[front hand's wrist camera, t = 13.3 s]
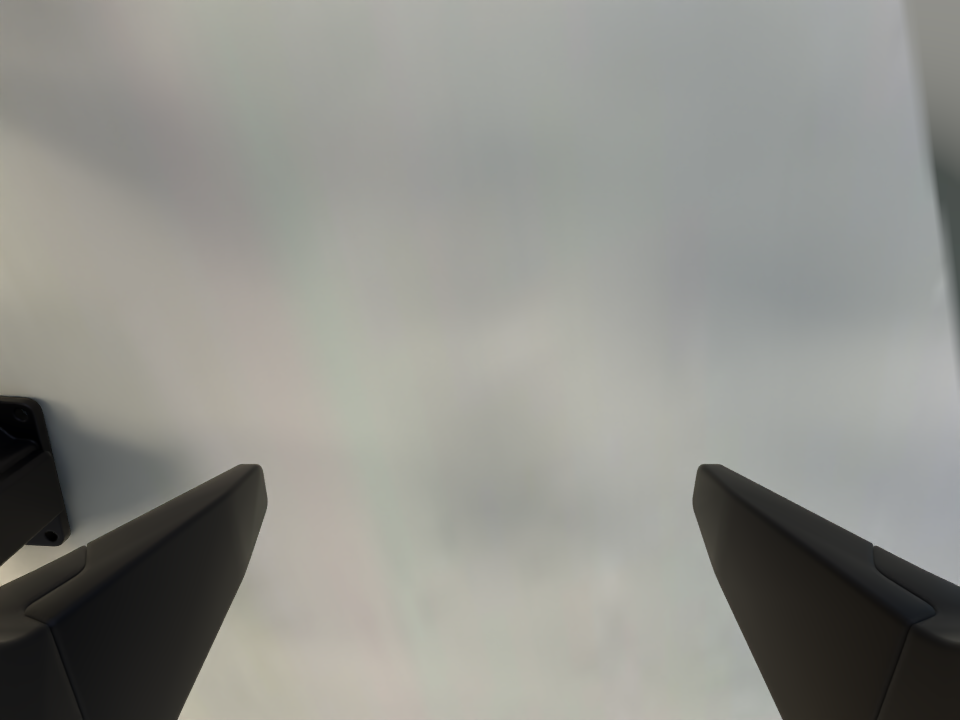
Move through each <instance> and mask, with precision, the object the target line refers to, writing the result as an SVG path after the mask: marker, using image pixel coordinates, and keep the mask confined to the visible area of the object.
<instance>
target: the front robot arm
mask: <svg viewBox="0 0 960 720" xmlns="http://www.w3.org/2000/svg"><path fill="white" fill-rule="evenodd" d="M22 409H23V410H24V411H26V413H27V415H26V414H25V413H23V411H22ZM266 509H267V493H266V487H265V480H264V474H263V470H262V468H261V466H260V465H258V464H240V465H237V466H236V467H234V468H232V469H230V470H228V471H226V472H224V473H222V474H220V475H218V476H216V477H214V478H213V479H211V480H209V481H207V482H205V483H203V484H201V485H199V486H197V487H195V488H193V489H191V490H189V491H188V492H186V493H184V494H182V495H180V496H178V497H176V498H174V499H172V500H170V501H168V502H166V503H165V504H163V505H161V506H159V507H157V508H155V509H153V510H151V511H149V512H147V513H145V514H143V515H141V516H140V517H138V518H136V519H134V520H132V521H130V522H128V523H126V524H124V525H122V526H120V527H118V528H117V529H115V530H113V531H111V532H109V533H107V534H105V535H103V536H101V537H99V538H97V539H95V540H93V541H92V542H90V543H88V544H87V547H86V546H82V547H80V548H78V549H76V550H74V551H72V552H70V553H68V554H66V555H64V556H62V557H61V558H59V559H57V560H55V561H53V562H51V563H49V564H47V565H45V566H43V567H41V568H39V569H37V570H35V571H32V572H30V573H28V574H26V575H24V576H22V577H20V578H18V579H15V580H13V581H11V582H9V583H7V584H5V585H3V586H1V587H0V720H177V719H178V717H179V715H180V713H181V711H182V708H183V706H184V704H185V702H186V700H187V698H188V696H189V693H190V691H191V689H192V687H193V685H194V683H195V681H196V678H197V676H198V674H199V672H200V670H201V668H202V666H203V663H204V661H205V659H206V657H207V655H208V653H209V651H210V648H211V646H212V644H213V642H214V640H215V638H216V636H217V633H218V631H219V629H220V627H221V625H222V623H223V621H224V618H225V616H226V614H227V612H228V610H229V608H230V605H231V603H232V601H233V599H234V597H235V595H236V593H237V590H238V588H239V586H240V584H241V582H242V579H243V577H244V575H245V572H246V570H247V567H248V564H249V561H250V558H251V555H252V552H253V549H254V546H255V543H256V540H257V537H258V534H259V531H260V528H261V525H262V522H263V519H264V516H265V513H266ZM693 509H694V513H695V516H696V519H697V522H698V525H699V528H700V531H701V534H702V537H703V540H704V543H705V546H706V549H707V552H708V555H709V558H710V561H711V564H712V567H713V570H714V572H715V575H716V577H717V579H718V582H719V584H720V586H721V588H722V590H723V593H724V595H725V597H726V599H727V601H728V603H729V605H730V608H731V610H732V612H733V614H734V616H735V618H736V621H737V623H738V625H739V627H740V629H741V631H742V633H743V636H744V638H745V640H746V642H747V644H748V646H749V648H750V651H751V653H752V655H753V657H754V659H755V661H756V663H757V666H758V668H759V670H760V672H761V674H762V676H763V678H764V681H765V683H766V685H767V687H768V689H769V691H770V693H771V696H772V698H773V700H774V702H775V704H776V706H777V708H778V711H779V713H780V715H781V717H782V719H783V720H960V587H959V586H957V585H955V584H953V583H951V582H949V581H947V580H945V579H942V578H940V577H938V576H936V575H934V574H932V573H930V572H928V571H925V570H923V569H921V568H919V567H917V566H915V565H913V564H911V563H909V562H907V561H905V560H903V559H901V558H899V557H898V556H896V555H894V554H892V553H890V552H888V551H886V550H884V549H882V548H880V547H878V546H874V547H873V544H872V543H870V542H869V541H867V540H865V539H863V538H861V537H859V536H857V535H855V534H853V533H851V532H849V531H847V530H845V529H844V528H842V527H840V526H838V525H836V524H834V523H832V522H830V521H828V520H826V519H824V518H822V517H820V516H819V515H817V514H815V513H813V512H811V511H809V510H807V509H805V508H803V507H801V506H799V505H797V504H795V503H794V502H792V501H790V500H788V499H786V498H784V497H782V496H780V495H778V494H776V493H774V492H772V491H771V490H769V489H767V488H765V487H763V486H761V485H759V484H757V483H755V482H753V481H751V480H749V479H747V478H746V477H744V476H742V475H740V474H738V473H736V472H734V471H732V470H730V469H728V468H726V467H724V466H723V465H720V464H702V465H700V466H699V468H698V470H697V474H696V481H695V487H694V493H693ZM70 532H71V531H70V526H69V522H68V518H67V514H66V509H65V505H64V501H63V497H62V492H61V488H60V484H59V480H58V475H57V471H56V467H55V463H54V458H53V454H52V450H51V446H50V441H49V437H48V433H47V429H46V425H45V420H44V416H43V412H42V409H41V407H40V405H39V404H38V403H37V402H35V401H34V400H32V399H29V398H20V397H4V396H0V566H1V565H2V564H4V563H5V562H6V561H7V560H8V559H9V558H10V557H11V556H13V555H14V554H15V553H16V552H17V551H18V550H19V549H20V548H22V547H23V546H24V545H38V546H59V545H61V544H62V543H63V542H64V541H65V540H66V539H68V538H69V536H70ZM55 533H56V534H55Z"/></svg>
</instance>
